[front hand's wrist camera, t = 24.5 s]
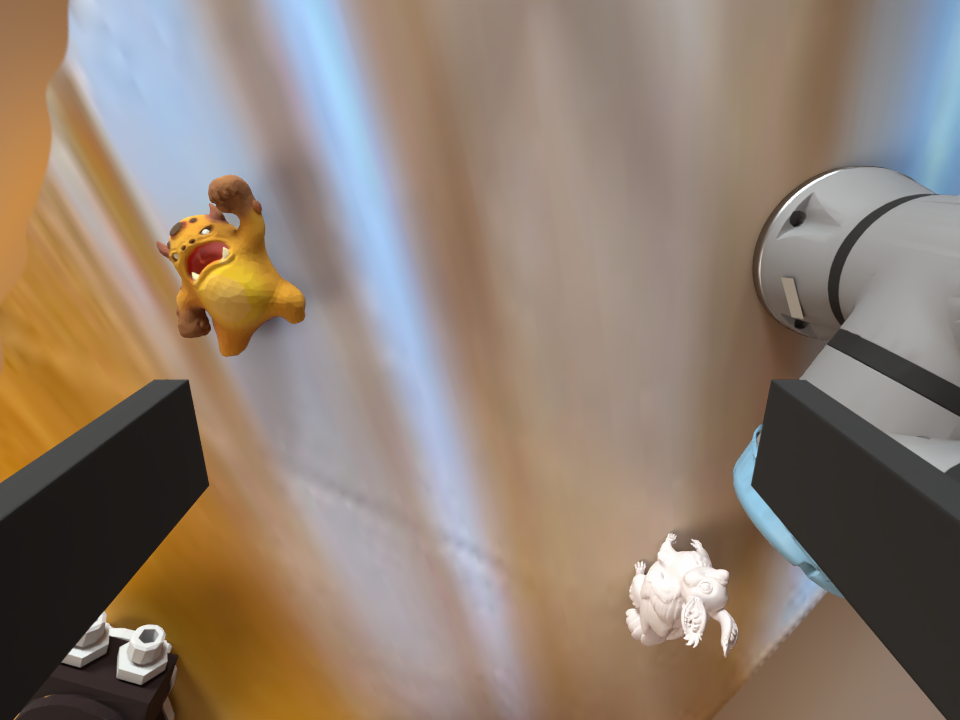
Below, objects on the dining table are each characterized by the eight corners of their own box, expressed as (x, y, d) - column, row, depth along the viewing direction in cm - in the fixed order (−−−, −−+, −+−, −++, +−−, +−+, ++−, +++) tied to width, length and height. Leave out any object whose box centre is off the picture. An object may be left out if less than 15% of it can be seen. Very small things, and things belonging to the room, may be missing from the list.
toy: (183, 365, 50) (115, 196, 44) (234, 339, 55) (179, 185, 50) (279, 362, 46) (217, 175, 40) (324, 334, 51) (275, 166, 46)
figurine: (723, 527, 60) (783, 618, 48) (668, 628, 65) (710, 733, 53) (654, 509, 59) (699, 597, 47) (604, 613, 64) (633, 716, 52)
